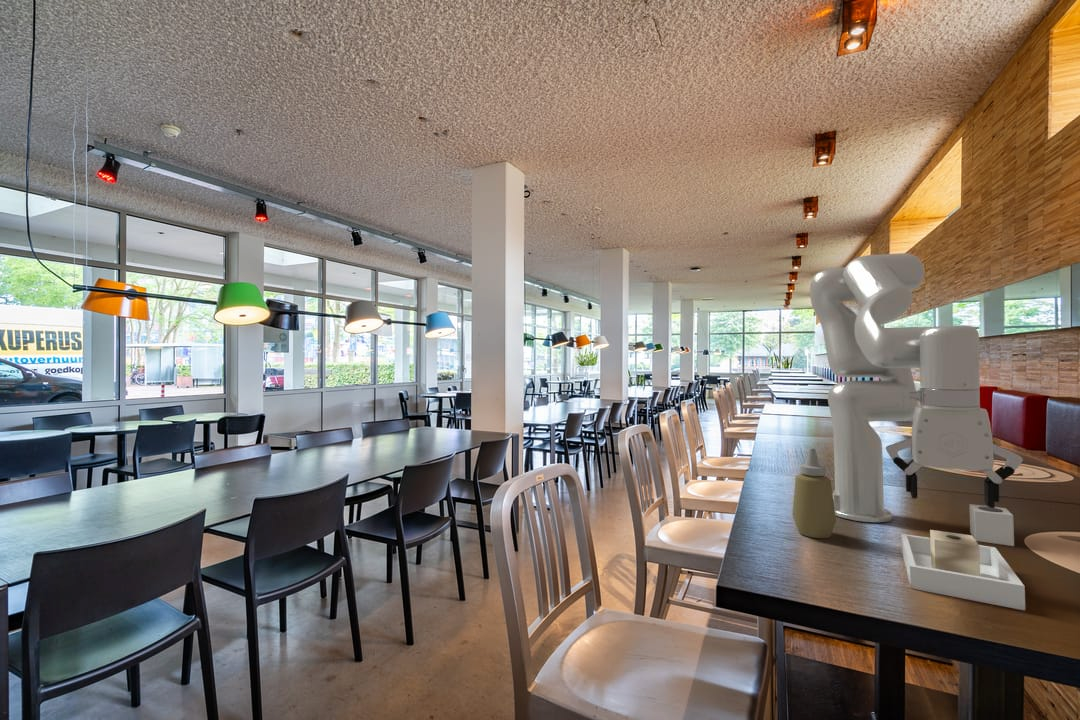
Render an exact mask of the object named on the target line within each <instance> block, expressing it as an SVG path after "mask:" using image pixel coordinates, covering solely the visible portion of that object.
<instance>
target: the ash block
mask: <svg viewBox="0 0 1080 720" xmlns="http://www.w3.org/2000/svg"><path fill="white" fill-rule="evenodd" d="M929 535H930V537H929V538H930V546H931V565H932V568H934V569H939V570H945V571H951V572H957V573H962V574H968V575H974V576H980V547H979V545H980V544H979V543H978V541H976V540H975V539H974V537H973V536H972V534H963V533H959V532H958V533H957V532H949V531H942V530H935V529H930V530H929Z"/></svg>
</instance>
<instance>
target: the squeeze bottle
mask: <svg viewBox="0 0 1080 720" xmlns="http://www.w3.org/2000/svg"><path fill="white" fill-rule="evenodd" d="M799 467H800V469H799V471H800V473H799V474H797V475H795V480H794V482H795V483H794V491H793V492H794V493H793V501H792V502H793V504H792V505H793V506H792V518H793V521H794V523H795V527H796V529H797V532H798V533H799V534H801V535H804V536H806V537H808V538H809V537H810V538H813V539H814V538H815V539H828V538H831V536H832V534H833V531H834V528H835V525H836V522H837V516H836V515H835V508H834V501H833V494H832V493H833V488H832V487H833V486H832V480H831V479H830V478H829V477H828V476H826V466H824V465H821V464H820V463H819V459H818V454H817V450H816V448H812V447H809V448H808V451H807V456H806V460H805V463H803V464H800V465H799Z"/></svg>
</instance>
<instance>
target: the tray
mask: <svg viewBox="0 0 1080 720" xmlns="http://www.w3.org/2000/svg"><path fill="white" fill-rule="evenodd" d="M900 536H901V537H900V538H901V541H900V542H901V554H902V558H903V564H904V568H905V570H906V575H907V580H908V583H909V588H910V589H914V590H917V591H918V590H919V591H921V592H922V591H923V592H927V593H928V592H929V593H933V594H939V595H944V596H949V597H955V598H958V599H959V598H960V599H964V600H968V601H974V602H979V603H985V604H990V605H995V606H1000V607H1005V608H1009V609H1010V608H1011V609H1015V610H1020V611H1026V590H1025V588H1026V587H1025V585H1024V584H1023V582H1022V580H1020V577H1018V576H1017V574H1016V572H1015V571H1014V570H1013V569H1012V568H1011V566H1010V565H1009V563H1008V562H1007V561H1006V559H1005V558H1004V557H1003V556H1002V554H1001V553H1000V551H999V550H998V549H997V548H996V546H995V547H994V546H988V545H983V544H982V545H981V544H978V545H979V547H980V576H974V575H968V574H962V573H957V572H951V571H945V570H939V569H934V568H932V565H931V546H930V537H926V536H919V535H914V534H906V533H901V534H900Z"/></svg>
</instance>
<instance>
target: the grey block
mask: <svg viewBox="0 0 1080 720" xmlns="http://www.w3.org/2000/svg"><path fill="white" fill-rule="evenodd" d="M968 506H969V533H970V535H972V536H973V537H974V539H975V540H976V542H982V543H989V544H995V545H1004V546H1009V547H1010V546H1011V547H1015V536H1014V535H1015V534H1014V533H1015V531H1014V526H1015V525H1014V514H1012V513H1011V512H1010V511H1009V510H1008V509H1007V508H1006V507H1001V506H1000V507H998V506H995V507H994V508H990V507H988V506H987V505H981V504H973V503H972V504H970V503H969V505H968Z"/></svg>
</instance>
